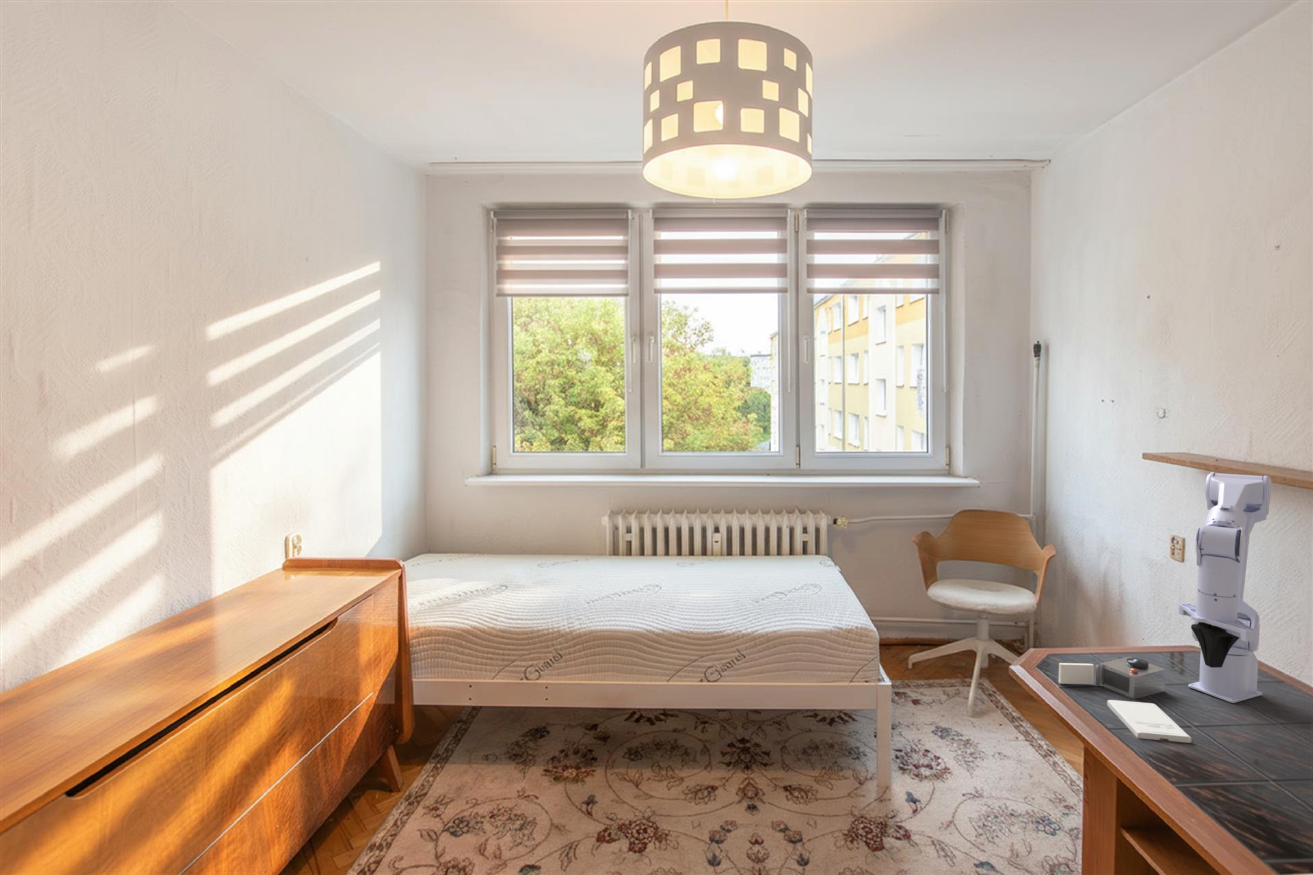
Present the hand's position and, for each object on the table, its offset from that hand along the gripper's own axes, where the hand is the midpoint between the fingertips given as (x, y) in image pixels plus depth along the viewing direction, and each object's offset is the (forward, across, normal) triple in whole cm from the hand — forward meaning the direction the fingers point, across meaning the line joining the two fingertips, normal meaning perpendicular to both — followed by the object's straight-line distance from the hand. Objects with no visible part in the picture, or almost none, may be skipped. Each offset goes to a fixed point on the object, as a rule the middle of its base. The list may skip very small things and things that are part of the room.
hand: (1213, 665), depth 123 cm
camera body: (+10, -13, -5) cm, 17 cm away
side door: (+10, -15, -15) cm, 23 cm away
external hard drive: (+11, +1, -13) cm, 16 cm away
